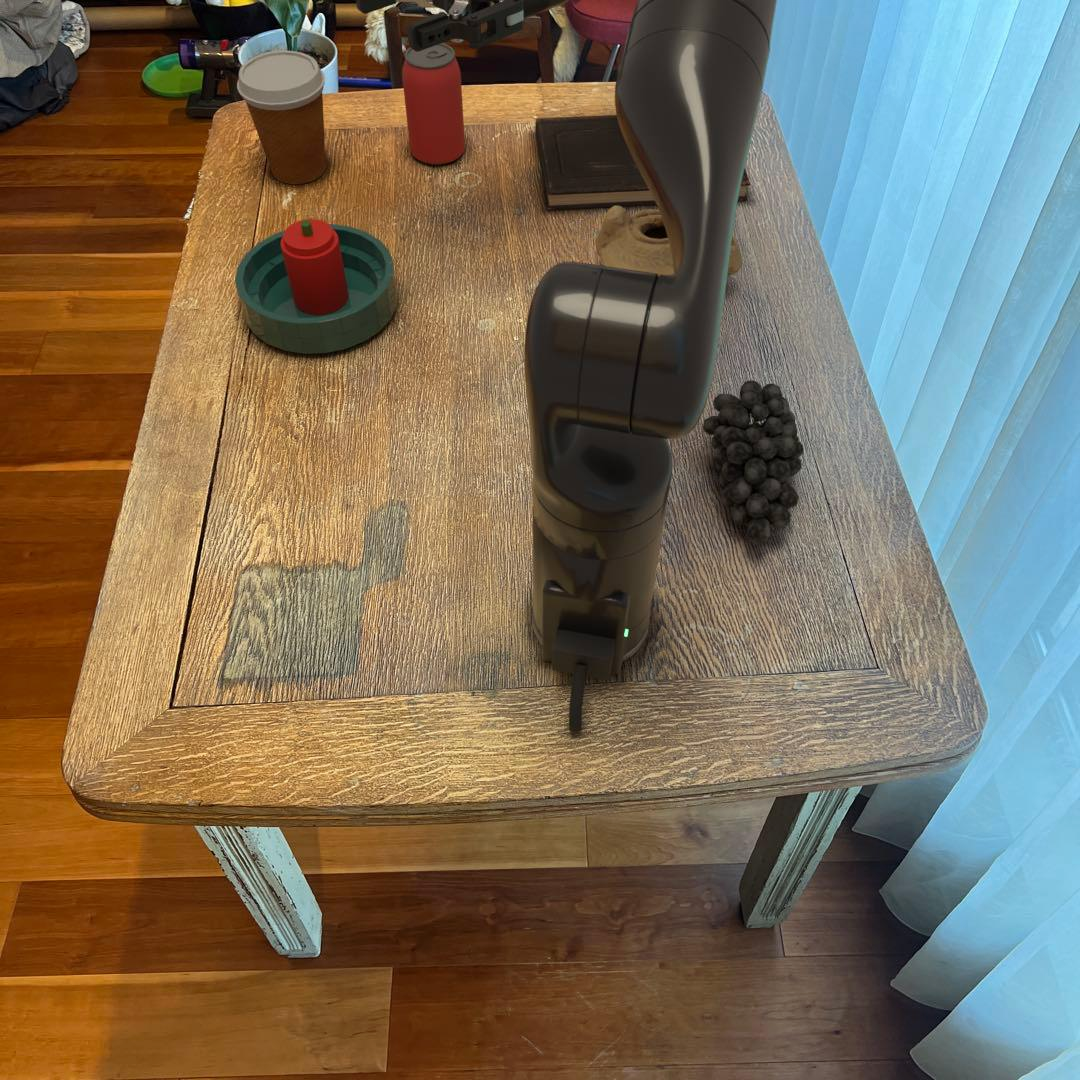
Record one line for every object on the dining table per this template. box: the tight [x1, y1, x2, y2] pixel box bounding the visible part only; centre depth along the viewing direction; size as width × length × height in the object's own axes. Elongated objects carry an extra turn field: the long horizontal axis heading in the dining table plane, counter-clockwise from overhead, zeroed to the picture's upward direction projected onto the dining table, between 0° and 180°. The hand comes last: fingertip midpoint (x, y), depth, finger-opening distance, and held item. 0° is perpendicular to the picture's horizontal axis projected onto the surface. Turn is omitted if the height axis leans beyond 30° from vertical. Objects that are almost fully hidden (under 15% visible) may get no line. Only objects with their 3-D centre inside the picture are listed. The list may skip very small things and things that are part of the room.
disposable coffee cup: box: [236, 50, 327, 185], centre depth 116 cm, size 10×10×12 cm
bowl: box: [234, 223, 399, 355], centre depth 104 cm, size 16×16×4 cm
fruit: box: [702, 380, 805, 545], centre depth 87 cm, size 9×8×15 cm
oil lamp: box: [595, 206, 744, 277], centre depth 105 cm, size 11×15×8 cm
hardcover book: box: [535, 114, 751, 211], centre depth 120 cm, size 16×23×2 cm
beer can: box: [401, 42, 466, 166], centre depth 118 cm, size 7×7×12 cm
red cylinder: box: [281, 218, 349, 315], centre depth 102 cm, size 6×6×9 cm
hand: (383, 19), depth 89 cm, fingers open, 8 cm apart
